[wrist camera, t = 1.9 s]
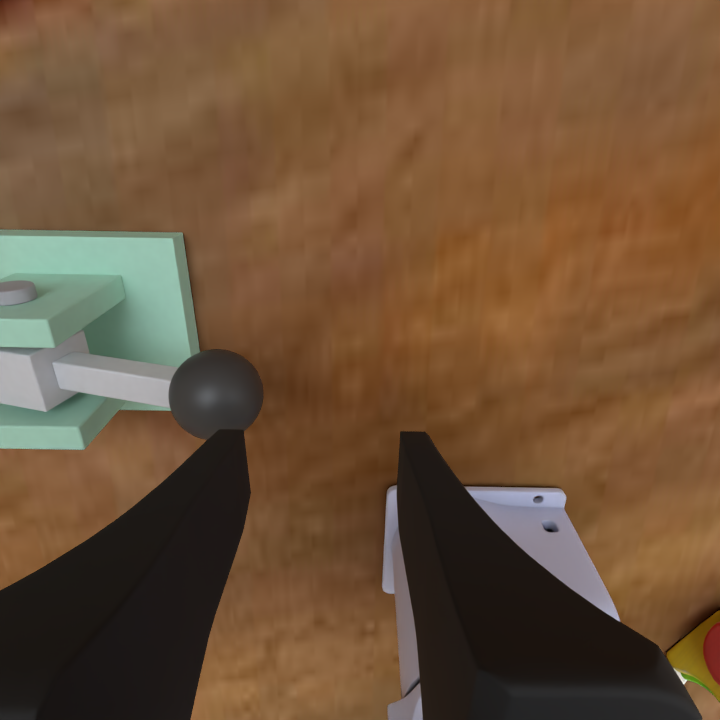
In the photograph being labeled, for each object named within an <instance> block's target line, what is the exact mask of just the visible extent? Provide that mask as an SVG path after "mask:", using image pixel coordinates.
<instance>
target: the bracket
mask: <svg viewBox="0 0 720 720" xmlns="http://www.w3.org/2000/svg"><path fill="white" fill-rule="evenodd" d="M80 330H83V331H84V333H85V337H86V341H87V345H88V349H89V353H90V354H93V355H100V356H106V357H113V358H119V359H126V360H133V361H139V362H146V363H152V364H159V365H166V366H172V367H179V366H180V365H181V364H182V363H183V362H184V361H186V360H187V359H188V358H190V357H191V356H193V355H195V354H197V353H199V352H200V349H199V342H198V335H197V328H196V321H195V314H194V307H193V301H192V294H191V287H190V280H189V273H188V266H187V259H186V252H185V245H184V239H183V233H179V232H120V231H61V230H2V229H0V347H23V348H55V347H57V346H58V345H60V344H61V343H63V342H64V341H65V340H67V339H68V338H70V337H71V336H72V335H74V334H75V333H77V332H78V331H80ZM119 410H161V411H171V409H170V408H167V407H161V406H155V405H149V404H144V403H138V402H132V401H127V400H121V399H115V398H110V397H104V396H98V395H92V394H87V393H81V392H78V393H77V394H75V395H73V396H72V397H70V398H68V399H67V400H65V401H64V402H62V403H60V404H59V405H57V406H55V407H54V408H52V409H50V410H49V411H47V412H43V411H38V410H33V409H28V408H22V407H17V406H12V405H7V404H1V403H0V448H3V449H62V450H84V449H86V447H87V446H88V445H89V444H90V443H91V442H92V440H93V439H94V438H95V437H96V436H97V435H98V434H99V432H100V431H101V430H102V429H103V428H104V427H105V426H106V424H107V423H108V422H109V421H110V420H111V419H112V418H113V416H114V415H115V414H116V413H117V412H118V411H119Z"/></svg>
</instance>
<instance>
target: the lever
mask: <svg viewBox="0 0 720 720" xmlns="http://www.w3.org/2000/svg"><path fill="white" fill-rule="evenodd" d="M78 392H81V393H87V394H92V395H98V396H104V397H110V398H115V399H121V400H127V401H132V402H138V403H144V404H149V405H155V406H161V407H167V408H170V409H171V412H172V414H173V416H174V418H175V420H176V421H177V422H178V424H179V425H180V426H181V427H182V428H183V429H184V430H186V431H187V432H188V433H190V434H192V435H193V436H195V437H198V438H201V439H205V440H208V439H209V438H210V437H211V436H212V435H213V434H214V433H216V432H217V431H218V430H219V429H241V430H244V431H245V430H246V429H247V428H248V427H249V426H250V425H251V424H252V423H253V422H254V420H255V419H256V418H257V416H258V414H259V412H260V410H261V407H262V403H263V385H262V381H261V378H260V376H259V374H258V372H257V370H256V369H255V367H254V366H253V365H252V364H251V363H250V362H249V361H248V360H247V359H245V358H244V357H242V356H241V355H239V354H237V353H234V352H231V351H228V350H221V349H212V350H206V351H202V352H199V353H197V354H195V355H193V356H191V357H190V358H188V359H187V360H186V361H184V362H183V363H182V364H181V365H180V366H179V367H172V366H166V365H159V364H152V363H146V362H139V361H133V360H126V359H119V358H113V357H106V356H100V355H93V354H90V353H89V349H88V345H87V341H86V337H85V333H84V331H83V330H80V331H78V332H77V333H75V334H74V335H72V336H71V337H70V338H68V339H67V340H65V341H64V342H63V343H61V344H60V345H58V346H57V347H55V348H23V347H0V403H1V404H7V405H12V406H17V407H22V408H28V409H33V410H38V411H43V412H47V411H49V410H50V409H52V408H54V407H55V406H57V405H59V404H60V403H62V402H64V401H65V400H67V399H68V398H70V397H72V396H73V395H75V394H77V393H78Z"/></svg>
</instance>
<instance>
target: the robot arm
mask: <svg viewBox="0 0 720 720" xmlns="http://www.w3.org/2000/svg"><path fill="white" fill-rule="evenodd" d="M250 494H251V491H250V482H249V474H248V465H247V456H246V448H245V439H244V430H241V429H219V430H218V431H217V432H216V433H214V434H213V435H212V436H211V437H210V438H209V439H208V440H207V441H206V442H205V443H204V444H203V445H202V446H201V447H200V448H199V449H198V450H197V451H195V452H194V453H193V454H192V455H191V456H190V457H189V458H188V459H187V460H186V461H185V462H184V463H183V464H182V465H181V466H180V467H179V468H177V469H176V470H175V471H174V472H173V473H172V474H171V475H170V476H169V477H168V478H167V479H165V480H164V481H163V482H162V483H161V484H160V485H159V486H157V487H156V488H155V489H154V490H153V491H151V492H150V493H149V494H148V495H147V496H146V497H144V498H143V499H142V500H141V501H140V502H138V503H137V504H136V505H135V506H134V507H132V508H131V509H130V510H128V511H127V512H126V513H124V514H123V515H122V516H120V517H119V518H118V519H116V520H115V521H114V522H112V523H111V524H109V525H108V526H107V527H105V528H104V529H102V530H101V531H99V532H98V533H97V534H95V535H94V536H92V537H91V538H89V539H88V540H86V541H85V542H83V543H81V544H80V545H78V546H77V547H75V548H73V549H72V550H70V551H69V552H67V553H65V554H64V555H62V556H60V557H59V558H57V559H56V560H54V561H52V562H51V563H49V564H47V565H46V566H44V567H43V568H41V569H39V570H37V571H36V572H34V573H32V574H30V575H28V576H27V577H25V578H23V579H21V580H19V581H17V582H16V583H14V584H12V585H10V586H8V587H6V588H4V589H2V590H0V720H190V718H191V714H192V709H193V705H194V700H195V695H196V691H197V686H198V681H199V677H200V673H201V668H202V664H203V660H204V655H205V651H206V647H207V642H208V638H209V634H210V631H211V627H212V624H213V620H214V617H215V614H216V611H217V608H218V605H219V602H220V599H221V596H222V593H223V590H224V587H225V584H226V581H227V578H228V575H229V572H230V569H231V566H232V563H233V560H234V557H235V554H236V551H237V548H238V545H239V542H240V539H241V536H242V533H243V529H244V524H245V520H246V515H247V510H248V504H249V499H250ZM536 496H539V497H538V498H534V497H536ZM565 502H566V495H565V493H564V492H563V490H561V489H559V488H526V487H467V486H463V485H462V483H461V482H460V481H459V479H458V478H457V477H456V476H455V474H454V473H453V471H452V470H451V469H450V467H449V466H448V465H447V463H446V462H445V460H444V459H443V457H442V456H441V454H440V453H439V451H438V450H437V448H436V447H435V445H434V443H433V442H432V440H431V438H430V437H429V435H428V434H427V433H426V432H405V431H401V432H400V448H399V463H398V478H397V485H395V486H391V487H390V488H389V489H388V490H387V496H386V515H385V535H384V554H383V574H382V589H383V591H384V592H386V593H389V594H395V604H396V620H397V635H398V650H399V666H400V681H401V696H402V699H401V700H399V701H397V702H393V703H390V704H389V705H388V706H387V707H388V720H702V716H701V714H700V713H699V711H698V709H697V707H696V706H695V704H694V702H693V700H692V699H691V697H690V695H689V693H688V692H687V690H686V688H685V686H684V685H683V683H682V681H681V680H680V678H679V676H678V675H677V673H676V671H675V670H674V669H673V667H672V666H671V664H670V663H669V661H668V660H667V658H666V657H665V656H664V654H663V652H662V651H661V649H660V648H659V646H658V645H656V644H655V643H653V642H652V641H650V640H648V639H647V638H645V637H644V636H642V635H640V634H639V633H637V632H635V631H634V630H632V629H631V628H629V627H627V626H626V625H624V624H623V623H621V622H620V619H619V616H618V613H617V611H616V608H615V606H614V603H613V601H612V599H611V597H610V595H609V593H608V591H607V589H606V587H605V585H604V583H603V582H602V580H601V578H600V576H599V574H598V572H597V570H596V568H595V566H594V565H593V563H592V561H591V559H590V557H589V555H588V553H587V551H586V549H585V547H584V546H583V544H582V542H581V540H580V538H579V536H578V534H577V532H576V530H575V529H574V527H573V525H572V523H571V521H570V519H569V517H568V515H567V513H566V512H565V510H564V506H565Z"/></svg>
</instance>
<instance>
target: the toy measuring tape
mask: <svg viewBox="0 0 720 720" xmlns="http://www.w3.org/2000/svg"><path fill="white" fill-rule="evenodd" d="M666 655H667V658H668V661H669V662H670V664H671V665H672V667H673V669H674V670H675V671H676V673H677V675H678V676H679V678H680V680H681V681H682V683H683V685H684V684H685V682H686V681H687V680H689V681H692V682H695V683H697V684H699V685H701V686H703V687H704V688H706V689H707V690H708V691H709V692H711V693H712V694H713V695H714V696H715V697H716V699H717V700H718V701H719V702H720V610H719V611H717V612H716V613H714V614H713V615H712V616H710V617H709V618H708V619H707V620H705V621H704V622H703V623H702V624H700V625H699V626H698V627H697V628H695V629H694V630H693V631H692V632H691V633H689V634H688V635H687V636H686V637H684V638H683V639H682V640H681V641H680V642H678V643H677V644H676V645H675V646H674V647H672V648H671V649H670V650H669V651H668V652H667V654H666Z"/></svg>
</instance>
